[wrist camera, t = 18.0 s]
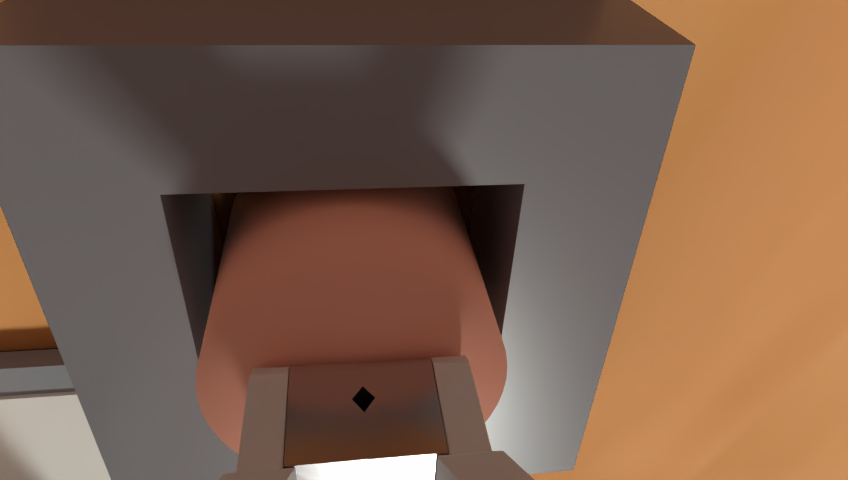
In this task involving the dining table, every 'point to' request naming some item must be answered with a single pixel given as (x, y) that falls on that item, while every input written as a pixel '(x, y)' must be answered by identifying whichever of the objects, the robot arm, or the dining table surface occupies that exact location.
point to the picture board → (43, 421)
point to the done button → (344, 292)
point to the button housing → (326, 179)
